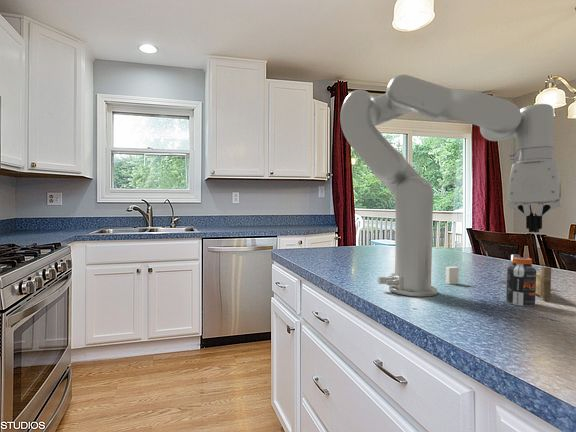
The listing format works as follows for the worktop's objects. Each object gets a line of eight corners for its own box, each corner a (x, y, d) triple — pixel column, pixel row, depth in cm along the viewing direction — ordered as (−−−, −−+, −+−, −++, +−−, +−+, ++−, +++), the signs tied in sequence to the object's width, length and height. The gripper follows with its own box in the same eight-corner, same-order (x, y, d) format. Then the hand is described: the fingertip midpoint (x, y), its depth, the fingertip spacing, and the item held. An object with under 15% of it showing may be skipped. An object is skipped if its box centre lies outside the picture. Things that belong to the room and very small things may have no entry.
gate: (514, 283, 106) (515, 257, 105) (520, 284, 105) (520, 257, 105) (543, 299, 88) (544, 267, 88) (550, 299, 88) (551, 267, 88)
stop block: (449, 284, 106) (449, 267, 106) (445, 282, 108) (445, 266, 108) (458, 284, 107) (458, 267, 107) (454, 282, 109) (454, 266, 109)
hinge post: (513, 286, 105) (514, 256, 104) (501, 282, 110) (501, 253, 109) (528, 285, 105) (529, 256, 105) (515, 282, 110) (516, 253, 110)
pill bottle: (526, 308, 82) (527, 260, 82) (500, 302, 87) (502, 256, 87) (540, 305, 85) (541, 258, 84) (515, 299, 90) (516, 255, 90)
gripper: (495, 159, 88) (495, 231, 89) (571, 151, 78) (570, 234, 78) (503, 161, 94) (503, 230, 94) (575, 155, 83) (575, 232, 83)
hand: (534, 231), depth 86 cm, fingers closed
